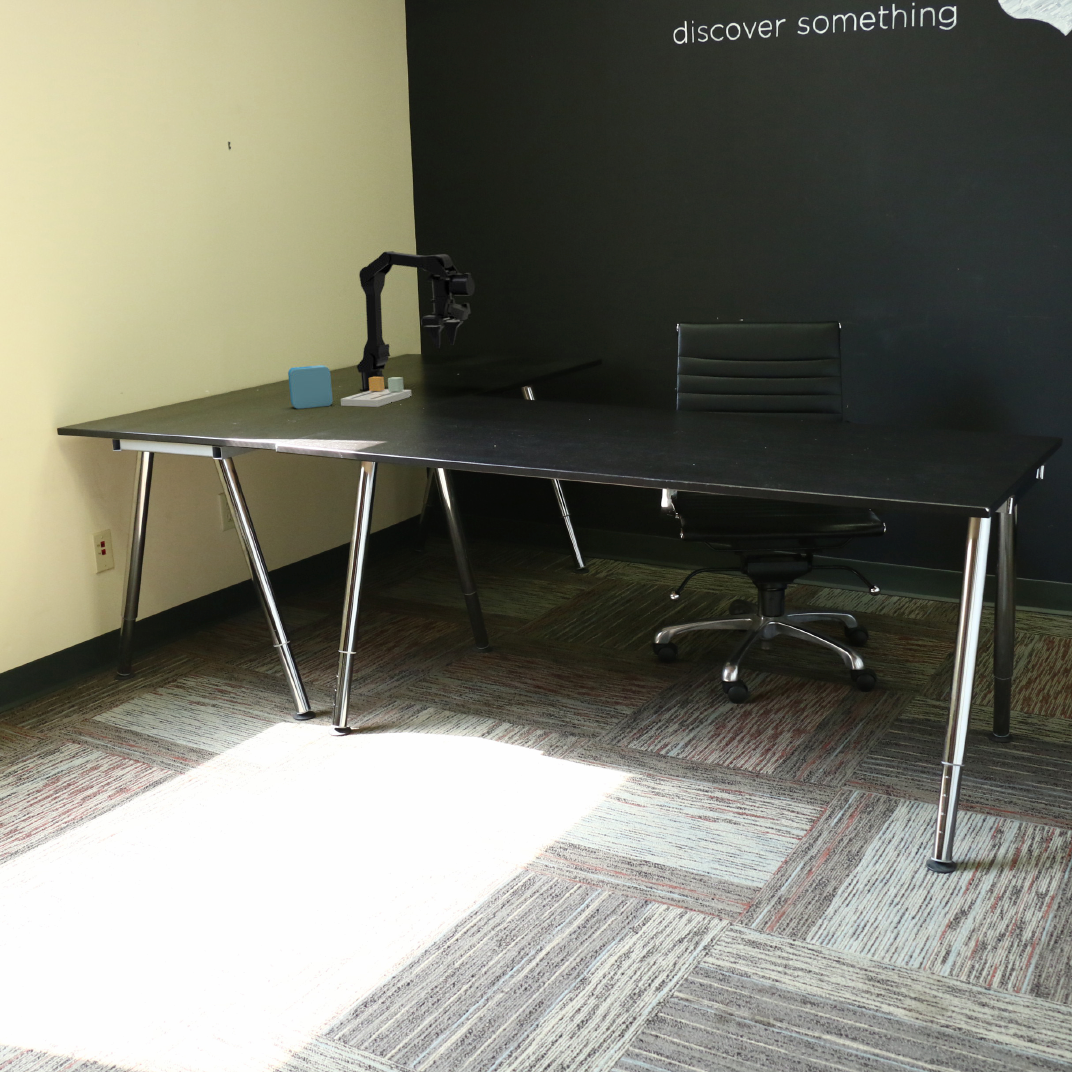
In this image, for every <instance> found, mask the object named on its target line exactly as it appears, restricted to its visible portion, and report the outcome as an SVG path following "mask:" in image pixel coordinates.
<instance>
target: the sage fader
mask: <svg viewBox="0 0 1072 1072" xmlns="http://www.w3.org/2000/svg"><path fill="white" fill-rule="evenodd" d="M387 386H388V388H387V389H389V391H394V392H399V391H403V390H405V389H404V378H403V377H402V376H401V377H399V376H398V377H395V376H392V377H389V378H387Z"/></svg>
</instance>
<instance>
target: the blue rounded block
mask: <svg viewBox="0 0 1072 1072" xmlns="http://www.w3.org/2000/svg"><path fill="white" fill-rule="evenodd" d="M287 374H288V375H287V376H288V386H289V395H290V397H289V398H290V404H291V405H292V407H294V408H295V409H298V410H300V409H311V408H320V407H321V408H322V407H329V406H331V405H332V404H333V400H334V399H333V389H332V378H331V370H330V368H328V367H327V366H326V365H324V364H323V365H322V364H321V365H308V366H306V365H305V366H298V367H297V366H296V367H291V368H289V369H288V372H287Z"/></svg>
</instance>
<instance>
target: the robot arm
mask: <svg viewBox="0 0 1072 1072" xmlns="http://www.w3.org/2000/svg"><path fill="white" fill-rule="evenodd" d="M393 266H400V267H408V268H409V267H410V268H416V269H421V270H423V271H425V272H428V273H430V274H429V275H428V277H426V279H425V281H426V282H431V286H432V299H430V303H431V304H433V312H431V315H424V316H422V317H421V319H420V324H421V325H420V326H423V329H425V331H426V332H427V333H428V336H429V337H430V338H431V341H432V343H433V344H434V346H435V348H436V349H440V347H441V336H442V335H441V333H442V330H443V328H445V332H446V335H447V338H448V342H449V344H450V345H454V344H455V341H456V337H457V332H458V329H459V327H460V325H462V324H463V323H464V321H466V320H467V319H468V317H469V314H472V312H471V307H470V306H471V305H470V303H468V302H463V303H462V304H458V303H456V299H455V298H453V297H452V295H453V296H459V297H461V296H466V297H467V296H470V297H471V296H473V294H474V293H475V288H476V286H475V282H474V280H473V278H472V276H471V275H472V274H471V272H466V273H465V272H464V273H460V272H459V271H458V269H457V267H456V266H455V265H454V263H453V260H452V258H451V257H450V256H449V254H445V253H443V254H432V255H421V254H412V253H404V252H395V251H393V250H391V251H390V250H389V251H382V253H381V254H380V255H379V257H378V256H377V258H376V259H374V260H373V261H371V262H370V263H369V264H367V266H364V267H362V268H361V269H360V270H359V274H358V275H359V276H358V277H359V281H360V287H361V289H362V291H363V292H364V295H365V312H366V314H365V315H366V332H367V333H366V335H367V339H366V343H365V345H364V347H363V353H362V359H361V360H360V361H359V363H358V364H357V365H356V369H357V371H358V373H361V375H360V376H361V388H359V391H363V392H367V391H370V389H369V378H371V377H384V374H383V370H385V367H386V364H387V362H388V361H389V357H391V354H390V344H389V343H385V341H384V338H383V317H382V315H383V314H382V292H383V290H384V287H385V283H386V282H385V281H386V276H387V275H388V274H389V272H390V271H391V270H392V268H393ZM384 378H385V377H384ZM384 389H387V386H384Z"/></svg>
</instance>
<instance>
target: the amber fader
mask: <svg viewBox="0 0 1072 1072" xmlns="http://www.w3.org/2000/svg"><path fill="white" fill-rule="evenodd" d="M384 387H385V377H371V378H369V389H370V391H381V390H384Z"/></svg>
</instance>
